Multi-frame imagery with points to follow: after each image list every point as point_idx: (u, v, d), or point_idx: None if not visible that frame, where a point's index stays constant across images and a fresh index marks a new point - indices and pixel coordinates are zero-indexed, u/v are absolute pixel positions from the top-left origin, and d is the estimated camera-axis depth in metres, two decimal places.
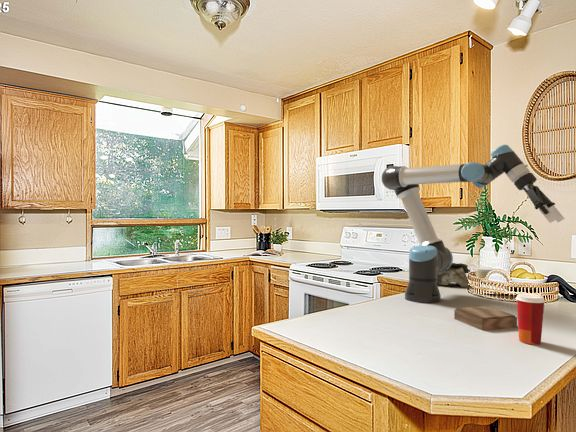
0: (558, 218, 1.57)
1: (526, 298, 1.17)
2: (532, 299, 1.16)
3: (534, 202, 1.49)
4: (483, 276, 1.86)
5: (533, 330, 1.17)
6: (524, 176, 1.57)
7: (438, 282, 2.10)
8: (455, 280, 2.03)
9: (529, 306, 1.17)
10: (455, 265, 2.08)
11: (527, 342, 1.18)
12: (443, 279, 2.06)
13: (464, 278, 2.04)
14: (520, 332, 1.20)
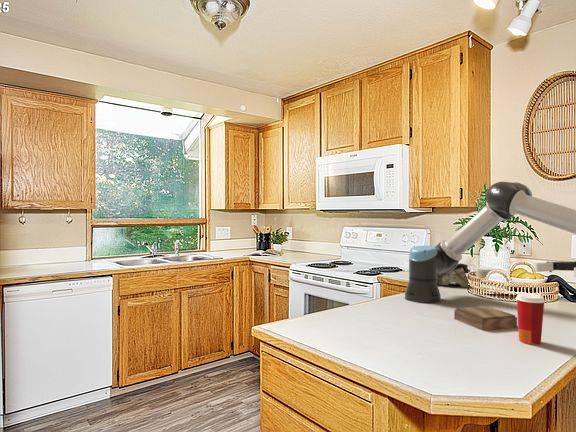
0: (539, 266, 1.29)
1: (526, 298, 1.17)
2: (532, 299, 1.16)
3: None
4: (483, 276, 1.86)
5: (533, 330, 1.17)
6: None
7: (438, 282, 2.10)
8: (455, 280, 2.03)
9: (529, 306, 1.17)
10: None
11: (527, 342, 1.18)
12: (443, 279, 2.05)
13: (464, 278, 2.04)
14: (520, 332, 1.20)
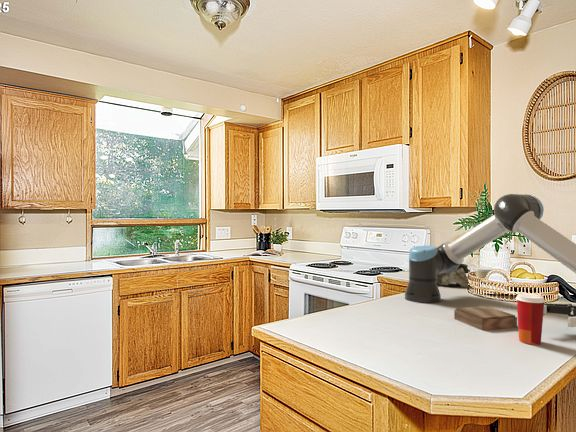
0: None
1: (526, 298, 1.17)
2: (532, 299, 1.16)
3: None
4: (483, 276, 1.86)
5: (533, 330, 1.17)
6: None
7: (438, 282, 2.10)
8: (455, 280, 2.03)
9: (529, 306, 1.17)
10: None
11: (527, 342, 1.18)
12: (443, 279, 2.05)
13: (464, 278, 2.04)
14: (520, 332, 1.20)
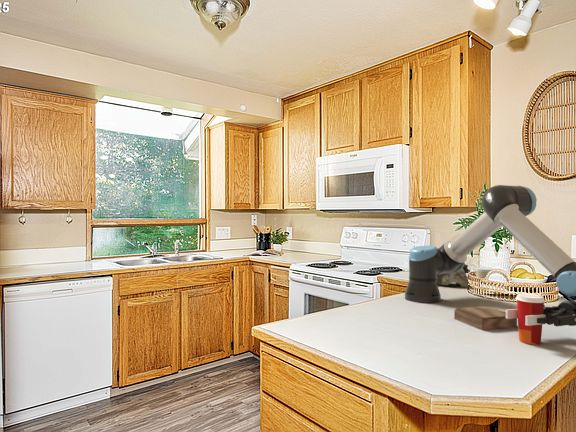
0: (510, 313, 1.22)
1: (526, 298, 1.17)
2: (532, 299, 1.16)
3: (560, 319, 1.14)
4: (483, 276, 1.86)
5: (533, 330, 1.17)
6: None
7: (438, 282, 2.10)
8: (455, 280, 2.03)
9: (529, 306, 1.17)
10: None
11: (527, 342, 1.18)
12: (443, 279, 2.05)
13: (464, 278, 2.03)
14: (520, 332, 1.20)
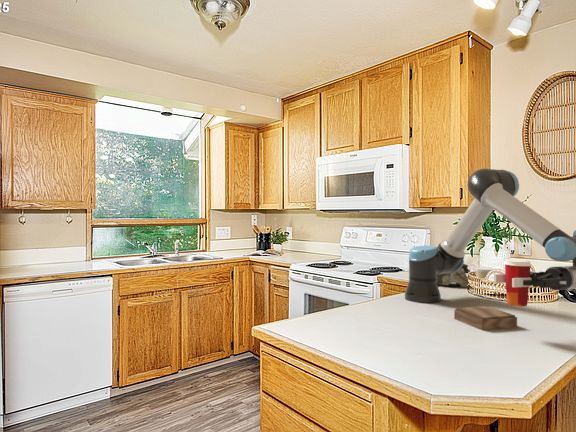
0: (498, 277, 1.28)
1: (513, 262, 1.23)
2: (519, 263, 1.22)
3: (545, 281, 1.20)
4: (483, 276, 1.86)
5: (520, 292, 1.22)
6: (570, 284, 1.26)
7: (438, 282, 2.09)
8: (456, 280, 2.03)
9: (516, 269, 1.22)
10: None
11: (514, 304, 1.23)
12: (444, 279, 2.05)
13: (464, 278, 2.03)
14: (508, 295, 1.25)
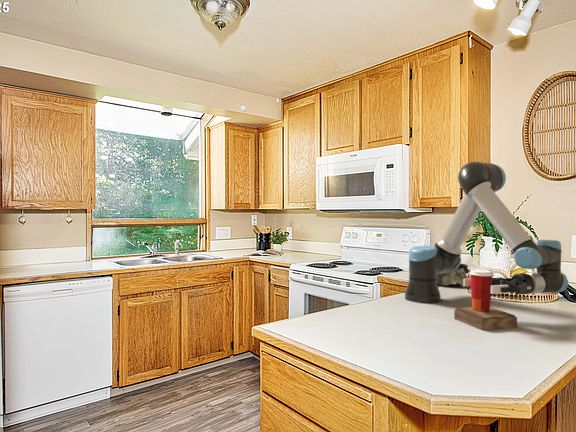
0: (467, 281, 1.45)
1: (477, 272, 1.40)
2: (482, 273, 1.39)
3: (520, 288, 1.31)
4: None
5: (482, 299, 1.39)
6: (532, 289, 1.40)
7: (438, 282, 2.09)
8: (456, 280, 2.02)
9: (479, 279, 1.39)
10: None
11: (478, 310, 1.40)
12: (444, 279, 2.05)
13: (465, 278, 2.03)
14: (472, 301, 1.42)
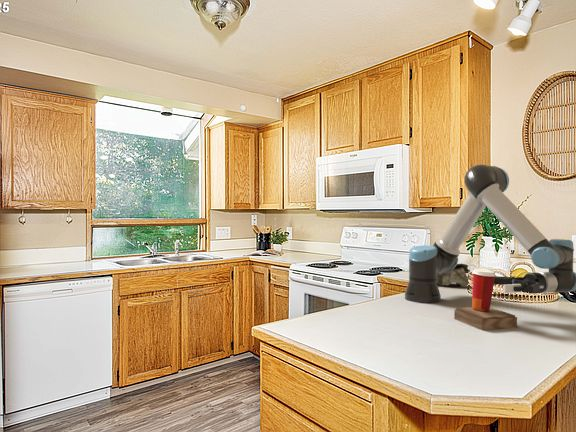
0: None
1: (480, 272, 1.39)
2: (484, 273, 1.38)
3: (533, 287, 1.32)
4: None
5: (483, 299, 1.39)
6: (544, 288, 1.41)
7: (438, 282, 2.09)
8: (456, 280, 2.02)
9: (481, 278, 1.39)
10: None
11: (478, 309, 1.40)
12: (444, 279, 2.05)
13: (465, 278, 2.03)
14: (473, 300, 1.42)
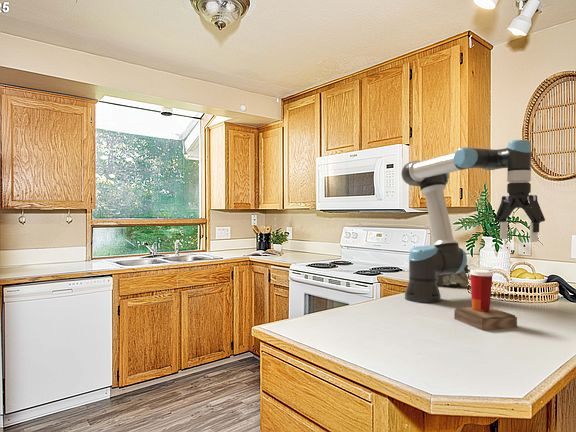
0: (504, 235, 1.52)
1: (477, 272, 1.40)
2: (481, 273, 1.39)
3: (539, 216, 1.37)
4: None
5: (482, 299, 1.39)
6: (529, 184, 1.43)
7: (439, 282, 2.09)
8: (456, 280, 2.02)
9: (479, 279, 1.39)
10: None
11: (478, 310, 1.40)
12: (444, 279, 2.04)
13: (465, 278, 2.03)
14: (472, 301, 1.42)
